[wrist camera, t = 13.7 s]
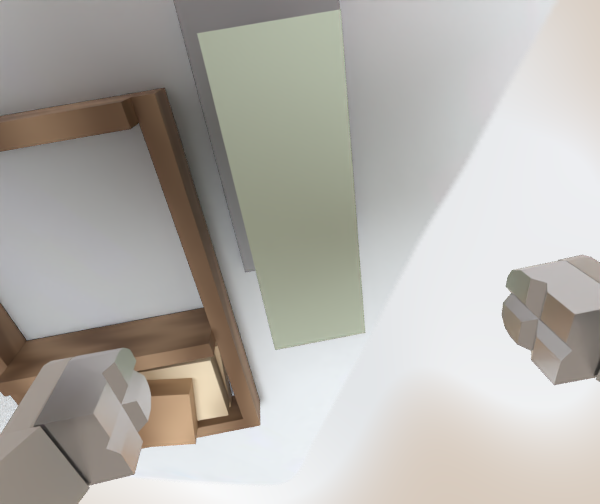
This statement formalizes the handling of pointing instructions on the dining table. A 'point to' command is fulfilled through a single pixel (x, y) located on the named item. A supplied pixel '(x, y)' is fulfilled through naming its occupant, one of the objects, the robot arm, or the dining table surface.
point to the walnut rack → (196, 244)
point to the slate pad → (196, 19)
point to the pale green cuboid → (292, 169)
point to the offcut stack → (184, 399)
